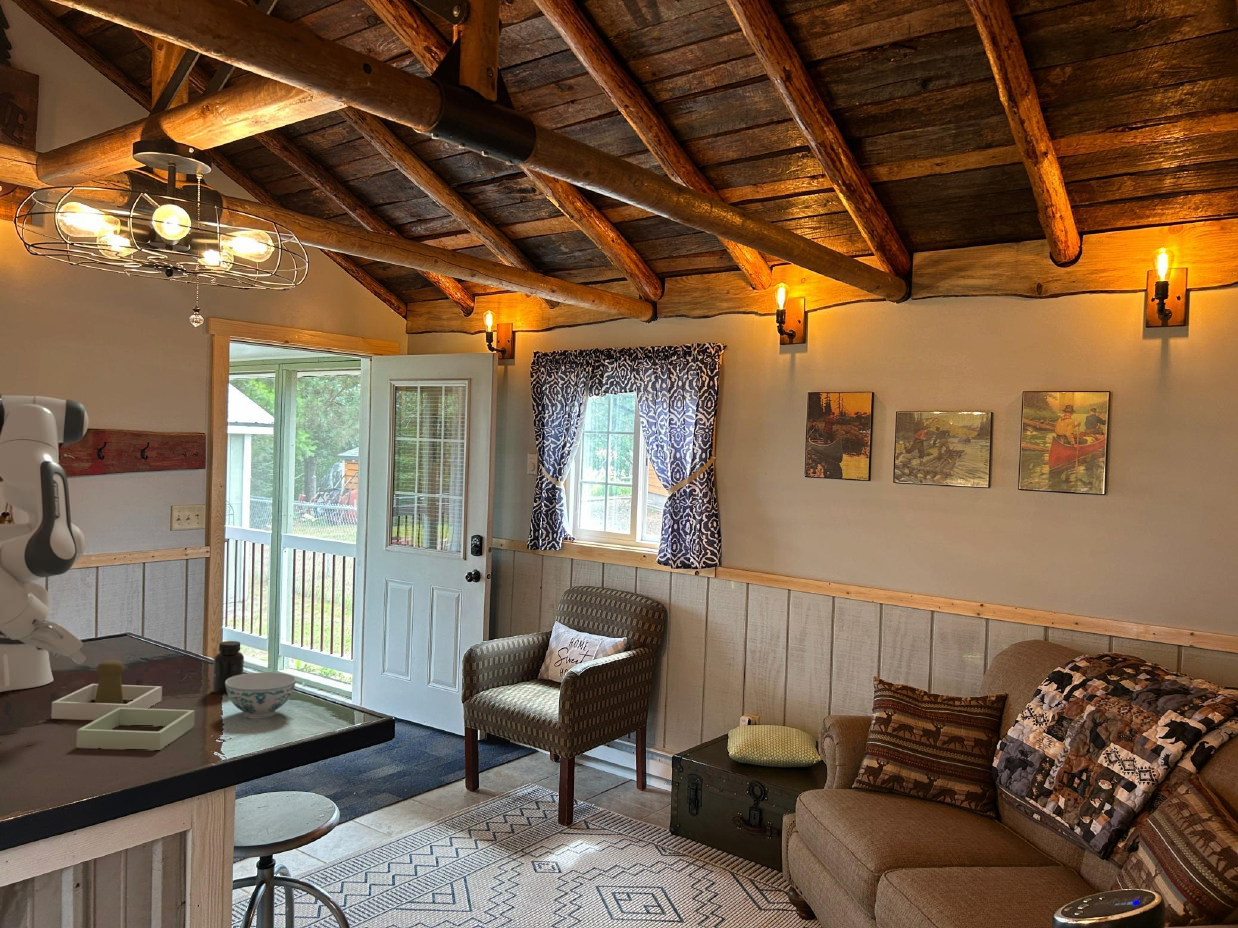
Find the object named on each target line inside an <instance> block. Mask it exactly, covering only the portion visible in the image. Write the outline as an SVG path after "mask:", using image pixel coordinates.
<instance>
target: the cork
mask: <svg viewBox="0 0 1238 928" xmlns="http://www.w3.org/2000/svg"><path fill="white" fill-rule="evenodd" d="M124 669H125V666H124V663H123V662H122V661H121V660H118V659H117V660H116V659H108V660H103V661H101V662H100V663H99V664H98V665H97V669H96V671H97V675H98V676H99V678H98V679H99V680H98V683H97V684H98V688H97V693H96V699H95V700H94V703H112V704H124V701H123V695H122V685H123V684H122V677H121V676H122V674H123V672H124Z"/></svg>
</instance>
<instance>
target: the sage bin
mask: <svg viewBox="0 0 1238 928" xmlns="http://www.w3.org/2000/svg"><path fill="white" fill-rule="evenodd" d="M195 715H196V711H195V710H194V709H193V710H192V709H172V708H171V709H169V708H168V709H167V708H149V709H145V708H117V709H115V710H113V711H111V712H109V713H108V714H106V715H104V716H102V717H100V718H98V719H97V720H92V721H91V722H90V723H88V724H86V725H83V726H82V727H80V728H77V730H76V746H75V747H76V748H75V749H96V750H97V749H98V748H101V750H125V749H149V750H148V751H154V750H160V751H162V750H163V749H164V748H166V747H168V744H169V745H170V744H171V743H173V742H175V741H176V740H177V739H178V738H180V737H181V736H183V735H185V733H187V732H188V731H190V730H191V729H193V728H194V727H195ZM131 725H153V726H152V727H158V726H163V728H162V729H160V730H159V731H155V730H154V731H151V730H125V729H116V728H117V727H119V726H131ZM164 726H165V727H164ZM115 727H116V728H115ZM113 728H114V729H113ZM165 746H166V747H165ZM98 750H99V749H98Z"/></svg>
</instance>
